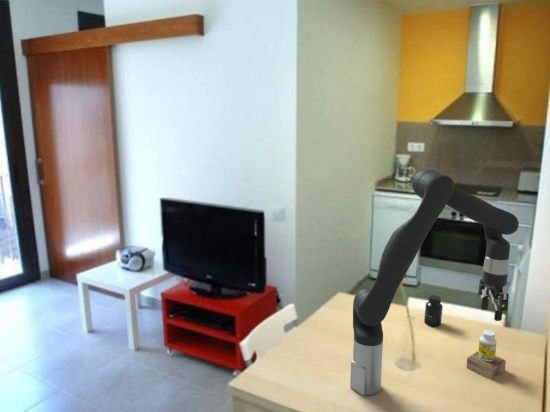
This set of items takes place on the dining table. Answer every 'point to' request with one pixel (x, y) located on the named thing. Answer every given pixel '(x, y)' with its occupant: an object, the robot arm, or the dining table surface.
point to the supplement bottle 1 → (433, 311)
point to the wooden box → (486, 366)
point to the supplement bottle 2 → (487, 346)
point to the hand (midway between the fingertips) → (490, 314)
